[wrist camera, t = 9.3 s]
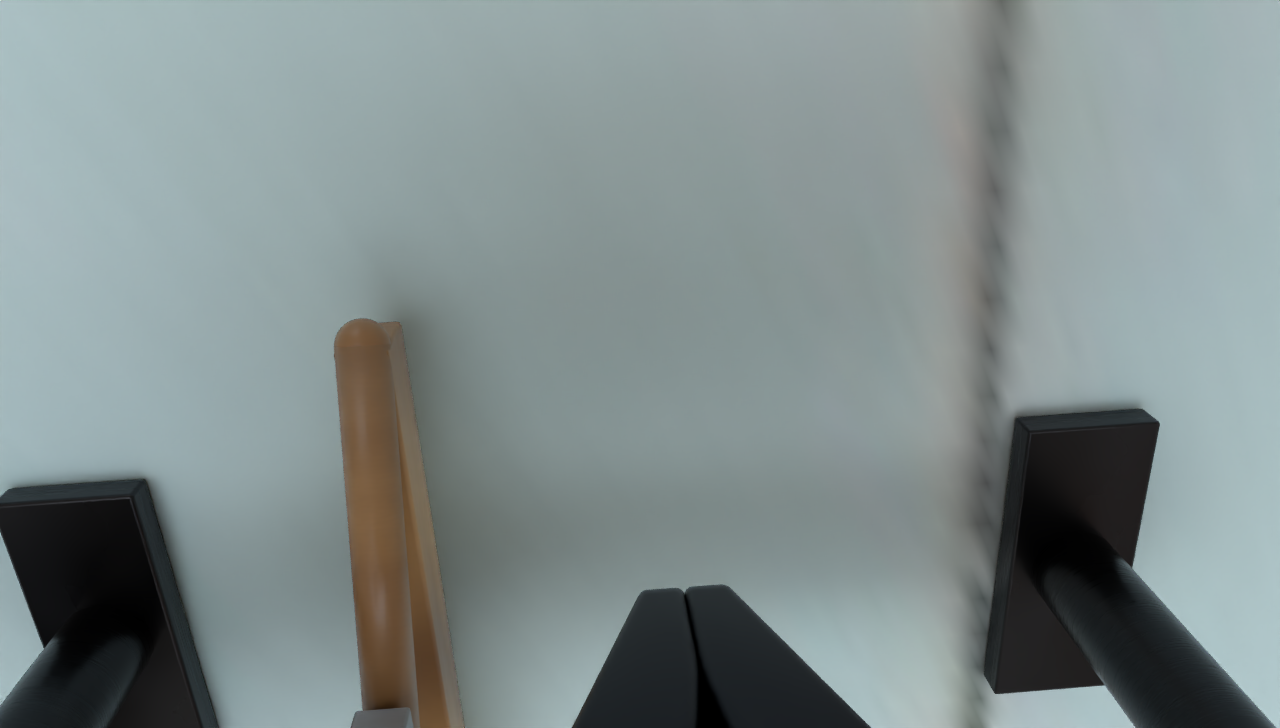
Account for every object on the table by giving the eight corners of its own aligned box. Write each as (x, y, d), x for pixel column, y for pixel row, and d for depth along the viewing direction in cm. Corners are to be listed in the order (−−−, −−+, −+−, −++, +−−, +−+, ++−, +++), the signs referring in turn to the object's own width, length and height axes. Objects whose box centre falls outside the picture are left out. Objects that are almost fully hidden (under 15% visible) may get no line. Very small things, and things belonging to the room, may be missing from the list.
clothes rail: (1096, 665, 20) (1304, 952, 14) (101, 745, 19) (-103, 1082, 13) (1143, 407, 17) (1417, 626, 12) (7, 487, 17) (-290, 762, 11)
